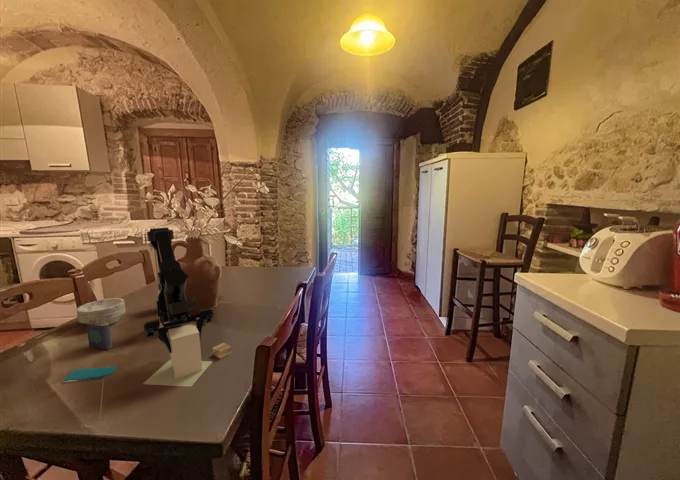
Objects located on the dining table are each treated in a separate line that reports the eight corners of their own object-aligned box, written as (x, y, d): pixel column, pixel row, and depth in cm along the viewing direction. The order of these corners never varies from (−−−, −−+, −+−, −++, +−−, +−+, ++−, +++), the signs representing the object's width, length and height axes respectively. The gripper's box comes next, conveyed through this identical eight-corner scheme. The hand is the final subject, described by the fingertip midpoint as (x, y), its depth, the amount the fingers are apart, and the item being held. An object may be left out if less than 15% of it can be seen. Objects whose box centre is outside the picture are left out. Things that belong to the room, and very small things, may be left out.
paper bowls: (100, 314, 130) (98, 296, 129) (135, 314, 129) (133, 297, 128) (68, 331, 115) (65, 311, 114) (107, 331, 114) (104, 312, 113)
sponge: (105, 378, 85) (117, 364, 91) (59, 381, 84) (74, 367, 90) (107, 383, 86) (119, 368, 91) (60, 386, 85) (75, 371, 90)
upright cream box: (171, 366, 91) (167, 329, 89) (197, 358, 96) (194, 323, 93) (175, 378, 86) (171, 339, 84) (202, 369, 90) (199, 332, 88)
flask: (114, 347, 103) (110, 317, 102) (106, 351, 101) (101, 321, 99) (94, 343, 106) (90, 314, 104) (85, 347, 103) (81, 318, 101)
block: (213, 356, 98) (212, 347, 98) (224, 350, 101) (223, 342, 101) (220, 360, 96) (220, 351, 95) (231, 354, 99) (231, 346, 98)
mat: (142, 385, 83) (142, 383, 83) (170, 360, 95) (169, 359, 95) (191, 387, 82) (191, 386, 82) (212, 362, 94) (212, 361, 94)
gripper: (140, 296, 85) (147, 348, 78) (210, 283, 96) (221, 329, 89) (141, 312, 93) (148, 362, 86) (206, 299, 104) (216, 343, 97)
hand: (185, 348), depth 89 cm, fingers closed on upright cream box, 7 cm apart
